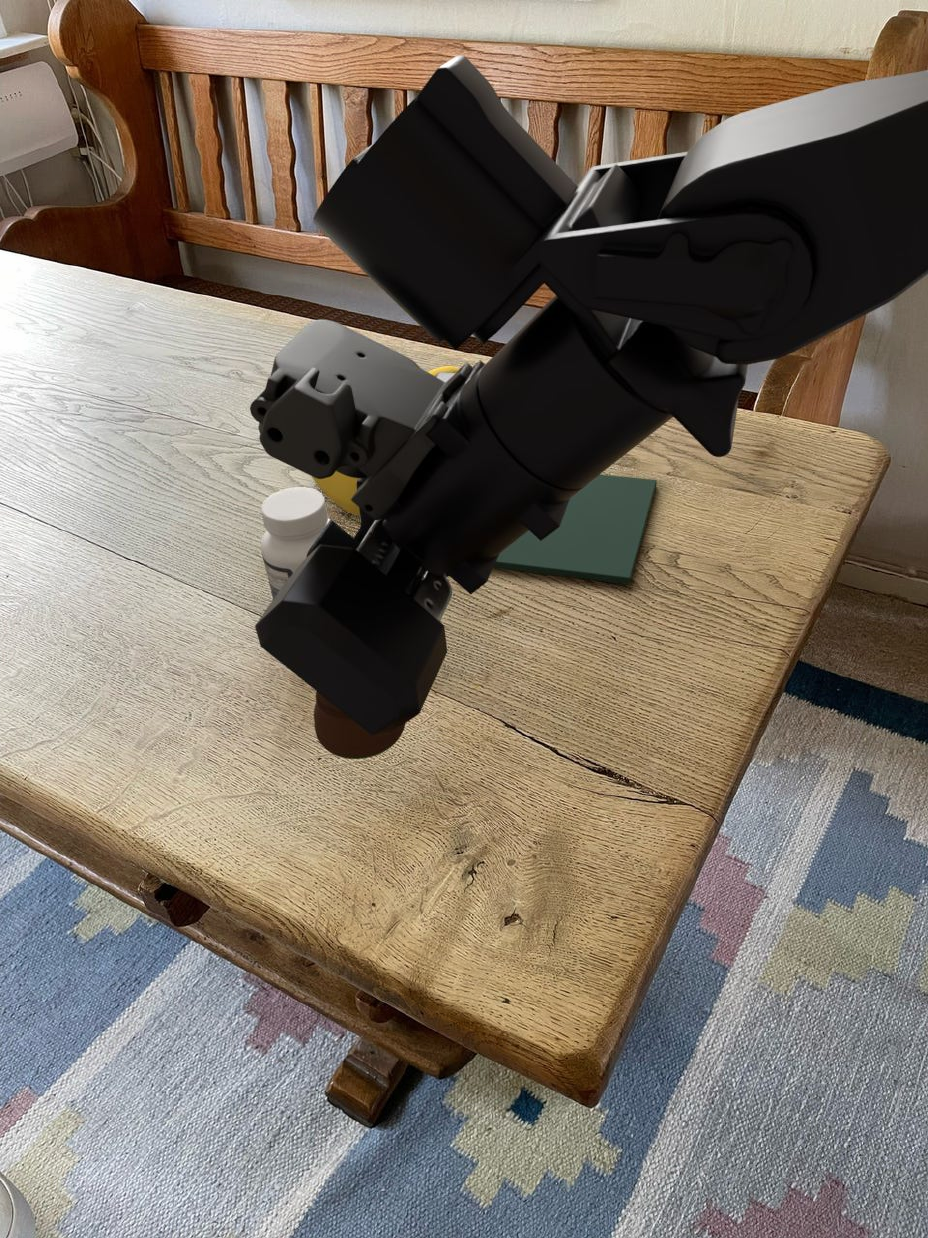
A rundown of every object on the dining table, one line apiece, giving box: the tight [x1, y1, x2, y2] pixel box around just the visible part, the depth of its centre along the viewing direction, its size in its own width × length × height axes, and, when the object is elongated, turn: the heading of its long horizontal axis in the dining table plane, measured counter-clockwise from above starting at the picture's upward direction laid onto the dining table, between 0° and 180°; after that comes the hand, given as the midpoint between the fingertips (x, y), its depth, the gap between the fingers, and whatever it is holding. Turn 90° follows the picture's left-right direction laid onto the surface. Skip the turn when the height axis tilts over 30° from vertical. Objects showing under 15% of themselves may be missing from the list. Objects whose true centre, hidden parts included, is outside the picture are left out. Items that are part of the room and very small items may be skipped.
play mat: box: [493, 474, 658, 585], centre depth 72 cm, size 12×13×1 cm
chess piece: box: [313, 690, 407, 760], centre depth 46 cm, size 5×5×10 cm
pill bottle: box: [260, 486, 331, 600], centre depth 62 cm, size 5×5×9 cm
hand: (312, 622), depth 45 cm, fingers closed on chess piece
